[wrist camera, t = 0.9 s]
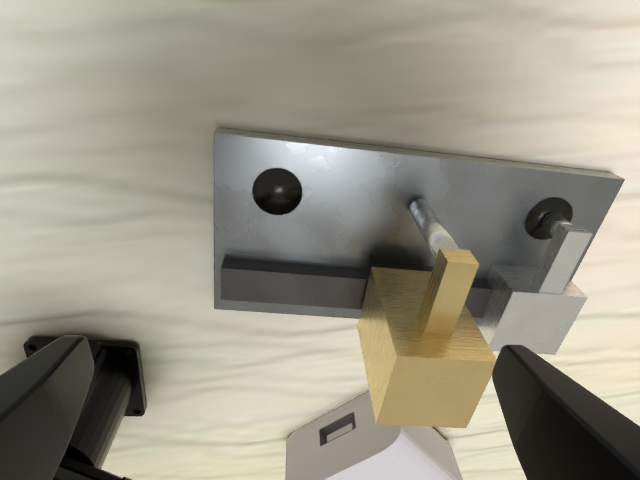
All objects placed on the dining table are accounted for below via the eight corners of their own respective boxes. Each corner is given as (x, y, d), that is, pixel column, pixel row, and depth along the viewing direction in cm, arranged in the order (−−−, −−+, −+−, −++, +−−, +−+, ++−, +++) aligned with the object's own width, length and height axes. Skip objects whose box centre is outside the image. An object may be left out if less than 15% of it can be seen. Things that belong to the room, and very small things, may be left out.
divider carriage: (422, 319, 23) (466, 428, 17) (355, 315, 23) (375, 424, 17) (461, 203, 20) (533, 288, 14) (381, 195, 19) (420, 279, 13)
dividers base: (535, 320, 26) (567, 362, 23) (217, 297, 24) (205, 340, 20) (611, 172, 21) (664, 200, 18) (217, 127, 19) (202, 150, 16)
